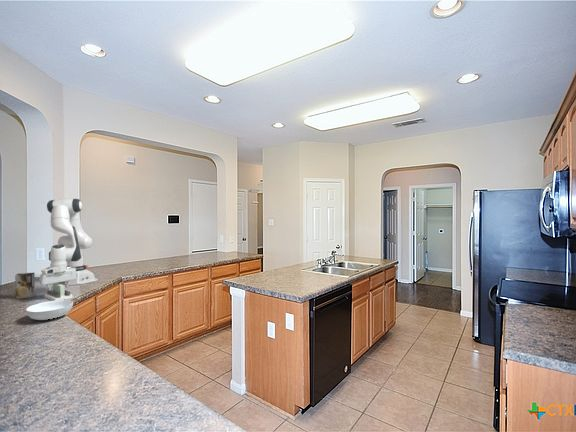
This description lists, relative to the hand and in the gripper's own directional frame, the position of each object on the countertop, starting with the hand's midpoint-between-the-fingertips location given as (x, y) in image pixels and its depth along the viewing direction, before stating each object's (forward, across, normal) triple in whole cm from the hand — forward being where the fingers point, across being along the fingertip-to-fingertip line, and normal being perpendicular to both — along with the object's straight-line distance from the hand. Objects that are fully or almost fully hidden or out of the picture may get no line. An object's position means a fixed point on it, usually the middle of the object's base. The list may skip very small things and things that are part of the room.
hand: (58, 288), depth 202 cm
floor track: (+6, 0, 0) cm, 6 cm away
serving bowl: (+6, +18, +38) cm, 43 cm away
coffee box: (+6, +12, -20) cm, 24 cm away
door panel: (+4, 0, 0) cm, 4 cm away
